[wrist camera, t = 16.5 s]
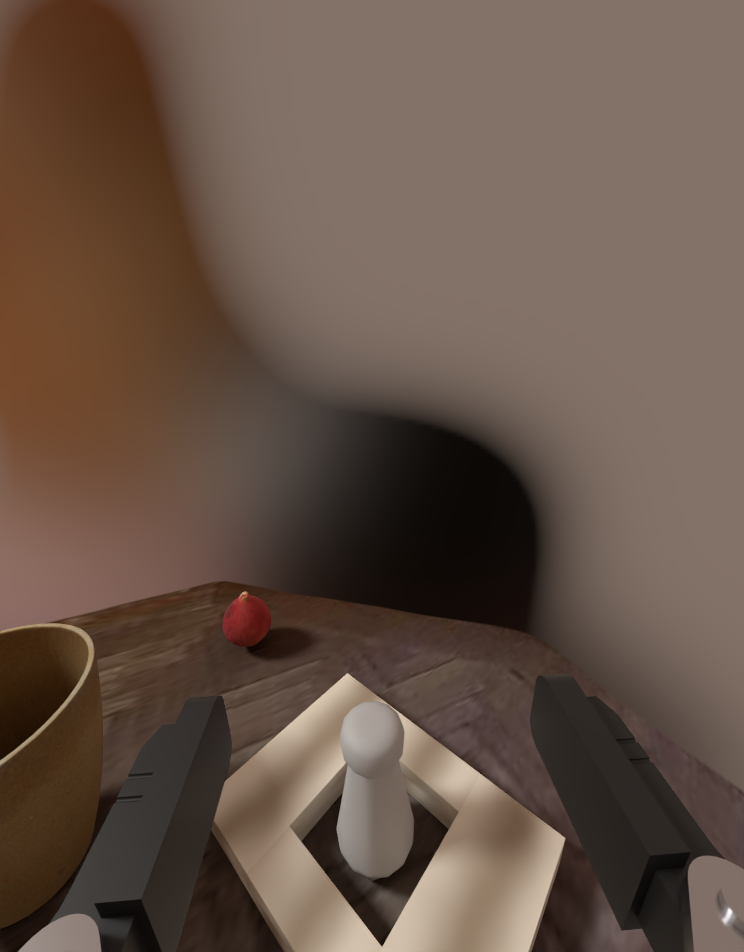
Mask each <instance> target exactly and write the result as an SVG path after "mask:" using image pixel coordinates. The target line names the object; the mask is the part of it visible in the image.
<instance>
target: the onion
mask: <svg viewBox="0 0 744 952" xmlns="http://www.w3.org/2000/svg"><path fill="white" fill-rule="evenodd" d="M270 626H271V613H270V610H269V608H268V607H267V605H266V604H265V603H264V602H263V601H262V600H261V599H259V598H257V597H255V596H249V594H248V592H246V591H245V592H243V593H242V594H241V595H240V596H239V597H238V598H237V599H235V600H234V601H233V602H232V603H231V604H230V606H229V607H228V608H227V610H226V612H225V615H224V619H223V632H224V634H225V636H226V637H227V639H228V640H229V641H230V642H231V643H233V644H235V645H238V646H253V645H255V644H256V643H258V642H259V641H261V640H262V639H263V638H264V637H265V636H266V635H267V633H268V631H269V628H270Z"/></svg>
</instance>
